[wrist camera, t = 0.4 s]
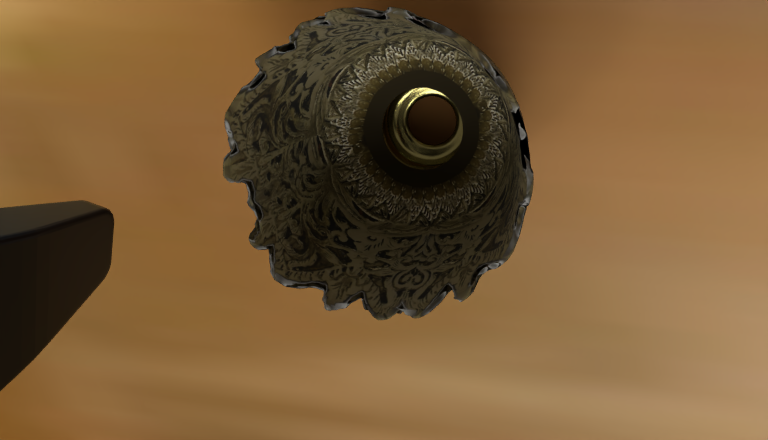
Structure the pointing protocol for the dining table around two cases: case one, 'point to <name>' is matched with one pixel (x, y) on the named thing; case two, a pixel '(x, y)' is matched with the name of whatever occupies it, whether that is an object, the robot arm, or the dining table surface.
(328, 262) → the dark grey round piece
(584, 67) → the dining table surface
